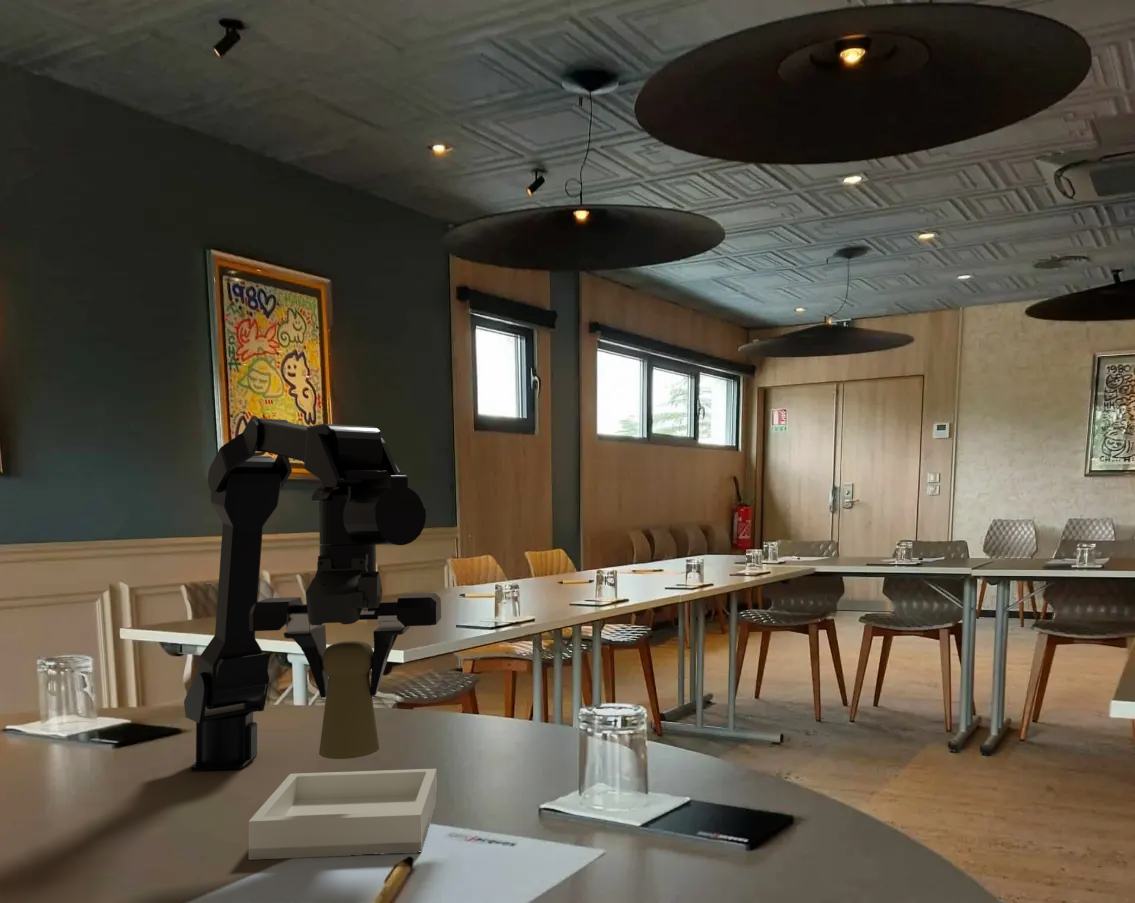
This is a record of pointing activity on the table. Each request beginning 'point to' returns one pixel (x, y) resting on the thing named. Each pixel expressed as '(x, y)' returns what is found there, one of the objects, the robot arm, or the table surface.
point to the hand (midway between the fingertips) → (349, 696)
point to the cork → (348, 702)
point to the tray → (345, 814)
